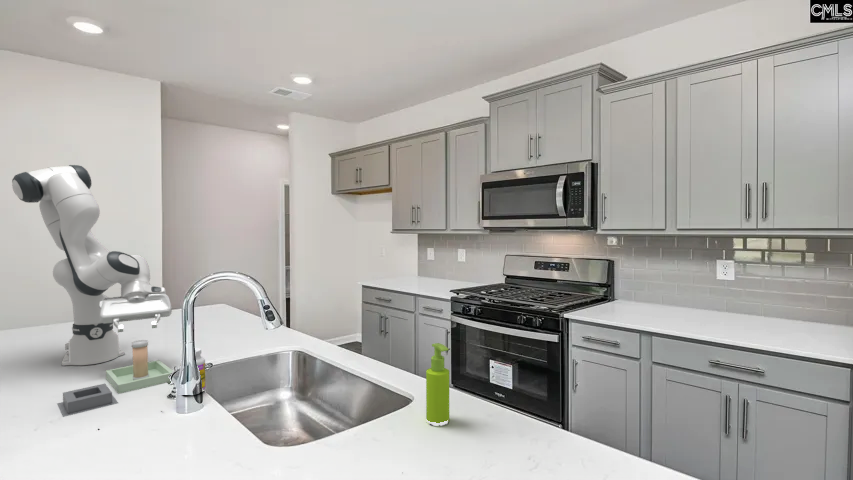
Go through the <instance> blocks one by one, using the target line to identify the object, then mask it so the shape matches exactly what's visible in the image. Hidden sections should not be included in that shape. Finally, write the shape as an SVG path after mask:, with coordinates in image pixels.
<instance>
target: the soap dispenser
mask: <svg viewBox="0 0 853 480" xmlns="http://www.w3.org/2000/svg"><path fill="white" fill-rule="evenodd" d="M431 347H433V348H434V349H433V350H434V353H433V354H434V355H432V356H431V358H430V367H429V368H427V369H426V371H425V372H426V373H425V376H426V377H425V378H426V379H425V384H426V386H425V388H426V389H425V390H426V391H425V392H426V393H425V394H426V396H425V397H426V398H425V399H426V401H425V402H426V403H425V404H426V407H425V408H426V409H425V410H426V416H425V417H426V418H425V419H427V420H428V421H430V422H436V423H440V422H444V421H447V420H448V419H449V420H450V370H449V369H448V368H445V356H444V355H443V354H442V352H447V351H449V350H450V348H448V347H447V345H445V344H442V343H441V342H440V343H439V342H438V343H437V342H436V343H435V342H434V343H432V344H431Z"/></svg>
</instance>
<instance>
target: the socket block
mask: <svg viewBox="0 0 853 480" xmlns="http://www.w3.org/2000/svg"><path fill="white" fill-rule="evenodd" d="M56 404H57V407H58V409H59V411H60V413H61V417H63V418H64V417H69V416H73V415H77V414H81V413H85V412H89V411H92V410H97V409H100V408H106V407H108V406H112V405H117V404H119V402H118V400H117V399H116V397H115V396H114V395H113V392H112V390H111V389H110V388H109V387H108V385H107V384H106V383H101V384H96V385H93V386H88V387H83V388H79V389H74V390H69V391H64V392H62V401H61V402H58V403H56Z"/></svg>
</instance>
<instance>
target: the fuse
mask: <svg viewBox="0 0 853 480" xmlns="http://www.w3.org/2000/svg"><path fill="white" fill-rule="evenodd" d="M148 346H149V341H148V339H141V340H134V341H132V342H131V350H132V365H133V381H134V380H138V379H143V378H147V377H149V374H148V362H149V355H148V353H149V352H148Z"/></svg>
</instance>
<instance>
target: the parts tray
mask: <svg viewBox="0 0 853 480" xmlns="http://www.w3.org/2000/svg"><path fill="white" fill-rule="evenodd" d="M173 371H174V370H173V369H171V368H170V367H169V366H167V365H166V364H165V363H164V362H162V361H161V360H159V359H158V360H151V361H148V374H149V377H147V378H143V379H138V380H134V381H133V364H131V365H127V366H122V367H117V368H112V369H107V370H105V378H106V380H107V382H109V385H111V386H112V388H113V389H114V390H115V392H116V393H118V394H123V393H128V392H131V391H137V390H140V389H145V388H148V387H152V386H156V385H162V384H165V383H166V384H167V385H169V384H170V383H171V381H170V379H169V378H168V376H169V375H170V374H171V373H172V372H173Z"/></svg>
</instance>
